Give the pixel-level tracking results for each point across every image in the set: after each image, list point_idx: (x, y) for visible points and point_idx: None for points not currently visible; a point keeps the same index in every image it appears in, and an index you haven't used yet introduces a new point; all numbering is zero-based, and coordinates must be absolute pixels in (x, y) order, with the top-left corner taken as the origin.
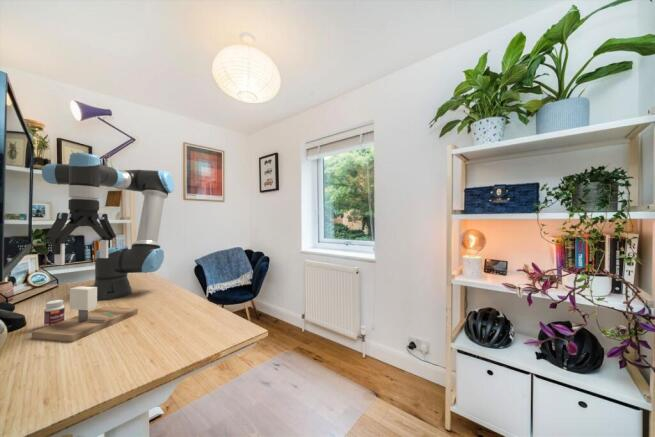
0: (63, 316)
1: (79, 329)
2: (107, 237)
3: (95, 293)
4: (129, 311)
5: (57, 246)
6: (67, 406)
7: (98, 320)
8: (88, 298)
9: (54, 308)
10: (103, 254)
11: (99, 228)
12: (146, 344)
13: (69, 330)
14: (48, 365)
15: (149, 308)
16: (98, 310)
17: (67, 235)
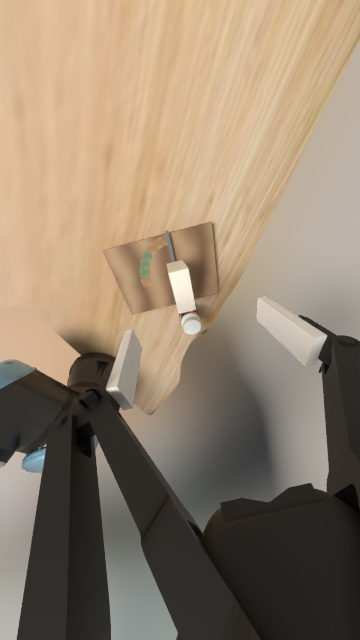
0: None
1: (196, 240)
2: (104, 406)
3: (170, 269)
4: (118, 249)
5: (326, 333)
6: None
7: (170, 242)
8: (183, 264)
9: (194, 316)
10: (134, 345)
11: (147, 479)
12: (172, 13)
13: (202, 250)
14: (263, 159)
15: (79, 257)
16: (144, 303)
17: (347, 378)
